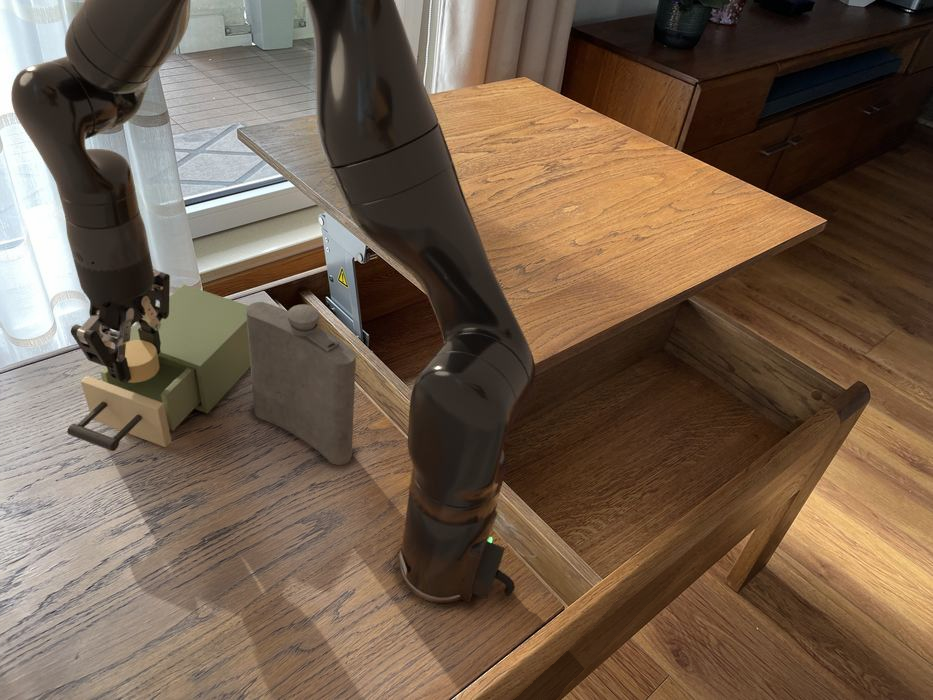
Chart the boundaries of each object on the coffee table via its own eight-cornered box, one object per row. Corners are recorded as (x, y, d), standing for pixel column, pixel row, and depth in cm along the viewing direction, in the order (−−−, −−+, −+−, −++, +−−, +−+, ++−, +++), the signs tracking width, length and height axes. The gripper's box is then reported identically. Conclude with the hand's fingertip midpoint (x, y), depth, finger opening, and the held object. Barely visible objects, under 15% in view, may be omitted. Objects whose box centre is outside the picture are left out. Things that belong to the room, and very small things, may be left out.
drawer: (135, 480, 85) (125, 441, 81) (58, 450, 87) (44, 411, 83) (223, 386, 99) (218, 348, 94) (155, 361, 101) (147, 324, 96)
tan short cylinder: (168, 363, 89) (165, 347, 88) (141, 387, 86) (138, 371, 84) (134, 351, 90) (130, 335, 89) (106, 374, 87) (102, 358, 85)
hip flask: (249, 412, 97) (238, 293, 84) (271, 396, 100) (263, 278, 87) (341, 469, 92) (344, 351, 79) (360, 450, 94) (367, 333, 82)
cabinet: (207, 413, 96) (200, 366, 90) (130, 385, 98) (118, 337, 92) (261, 354, 106) (258, 308, 100) (190, 330, 108) (183, 284, 102)
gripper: (92, 293, 71) (123, 413, 82) (182, 227, 81) (199, 341, 92) (29, 271, 72) (68, 392, 83) (126, 210, 83) (149, 324, 94)
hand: (137, 365), depth 88 cm, fingers closed on tan short cylinder, 5 cm apart
